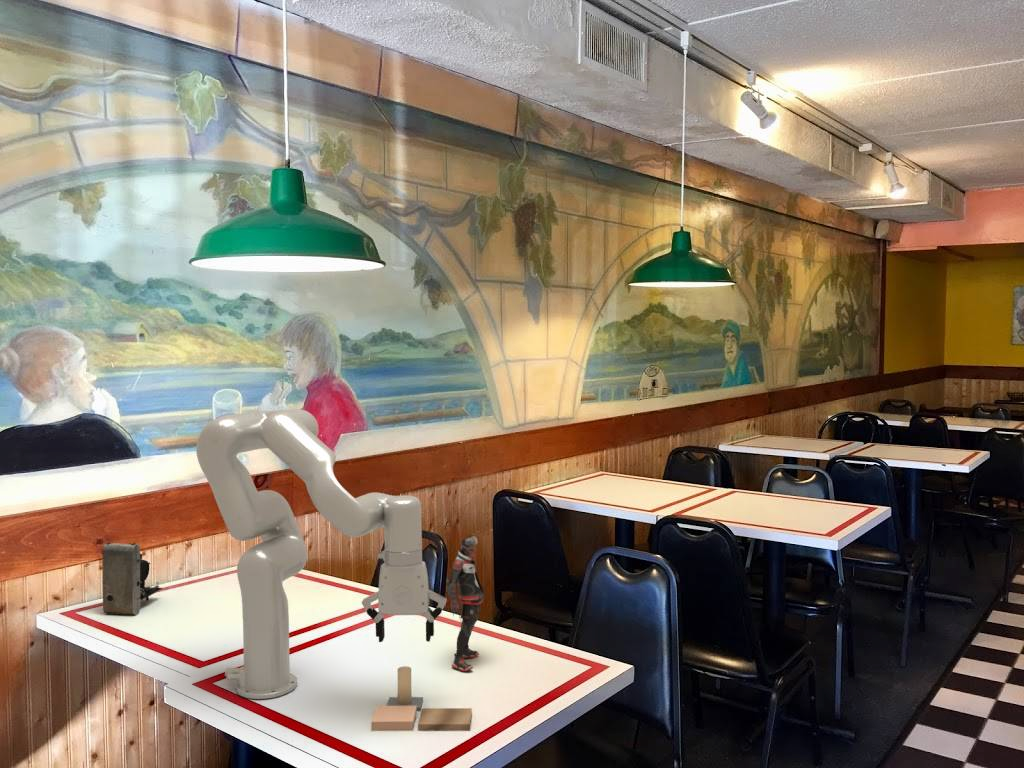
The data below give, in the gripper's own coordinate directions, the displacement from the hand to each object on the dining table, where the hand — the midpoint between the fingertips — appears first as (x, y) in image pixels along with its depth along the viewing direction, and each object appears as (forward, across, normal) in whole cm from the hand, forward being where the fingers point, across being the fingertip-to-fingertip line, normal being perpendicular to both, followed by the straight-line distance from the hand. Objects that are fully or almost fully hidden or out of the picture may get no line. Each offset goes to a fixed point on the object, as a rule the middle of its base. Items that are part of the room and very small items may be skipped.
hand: (405, 639), depth 171 cm
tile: (+13, -5, -7) cm, 16 cm away
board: (+14, +9, -7) cm, 18 cm away
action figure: (+14, +11, +23) cm, 29 cm away
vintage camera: (+13, -85, +64) cm, 108 cm away
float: (+14, 0, 0) cm, 14 cm away
